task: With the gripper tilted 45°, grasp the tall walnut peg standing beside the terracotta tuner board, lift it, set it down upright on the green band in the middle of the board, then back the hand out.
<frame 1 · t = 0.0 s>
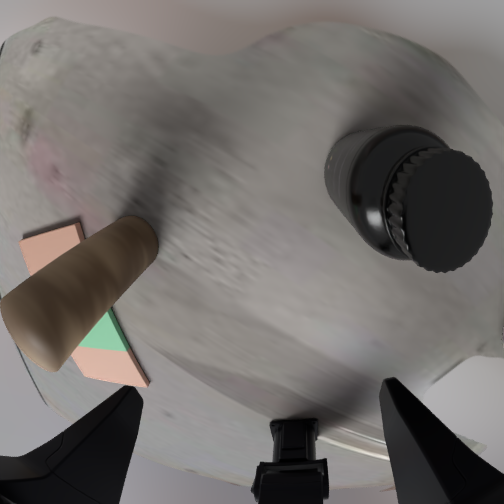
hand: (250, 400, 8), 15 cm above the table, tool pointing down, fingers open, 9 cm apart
tuner board: (79, 315, 28), on the table
supplement bottle: (364, 173, 19), on the table
walnut peg: (134, 242, 23), on the table
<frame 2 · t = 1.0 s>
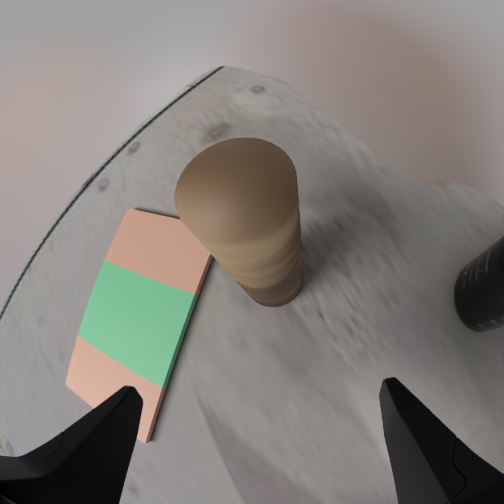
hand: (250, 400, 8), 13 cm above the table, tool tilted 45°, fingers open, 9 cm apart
tuner board: (131, 319, 24), on the table
supplement bottle: (476, 297, 19), on the table
walnut peg: (273, 278, 23), on the table
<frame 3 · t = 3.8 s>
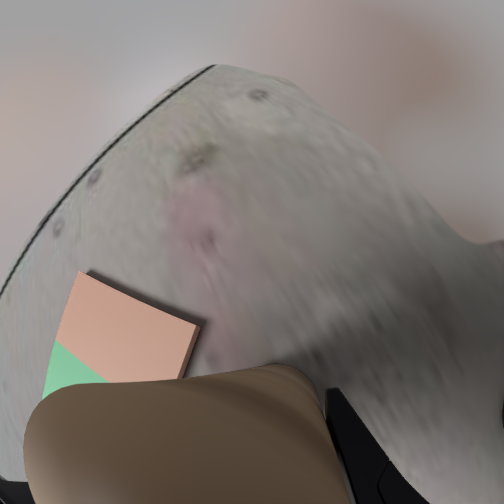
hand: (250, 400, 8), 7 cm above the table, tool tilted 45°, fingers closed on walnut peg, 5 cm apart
tuner board: (92, 421, 15), on the table
walnut peg: (274, 404, 14), on the table, touching gripper
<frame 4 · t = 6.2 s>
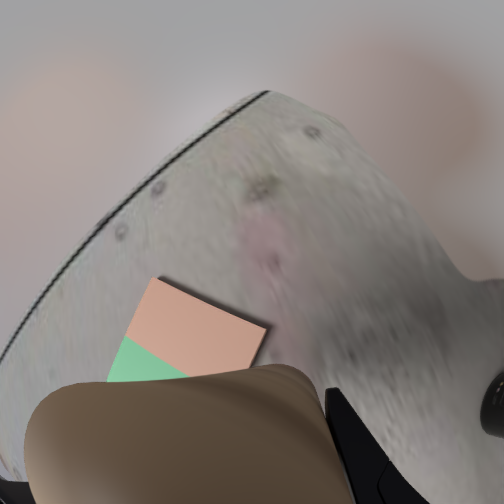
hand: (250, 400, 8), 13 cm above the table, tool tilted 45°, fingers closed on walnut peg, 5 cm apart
tuner board: (158, 406, 21), on the table
supplement bottle: (499, 402, 14), on the table
walnut peg: (275, 403, 14), point 6 cm above the table, touching gripper
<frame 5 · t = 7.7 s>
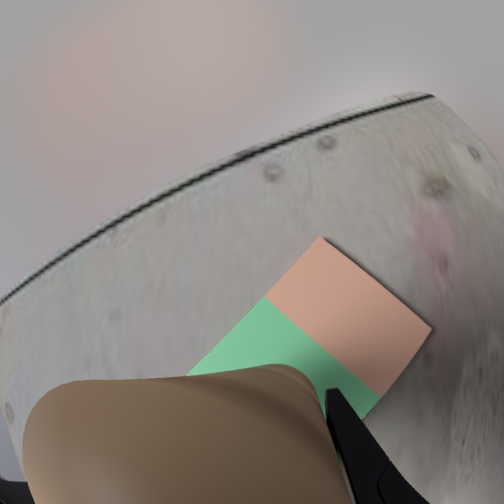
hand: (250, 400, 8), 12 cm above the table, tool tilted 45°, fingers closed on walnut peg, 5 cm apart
tuner board: (281, 392, 18), on the table
walnut peg: (274, 403, 14), point 4 cm above the table, touching gripper
when the fingers open (9 cm above the table, at t = 8.6 s): walnut peg stays where it is, resting on tuner board.
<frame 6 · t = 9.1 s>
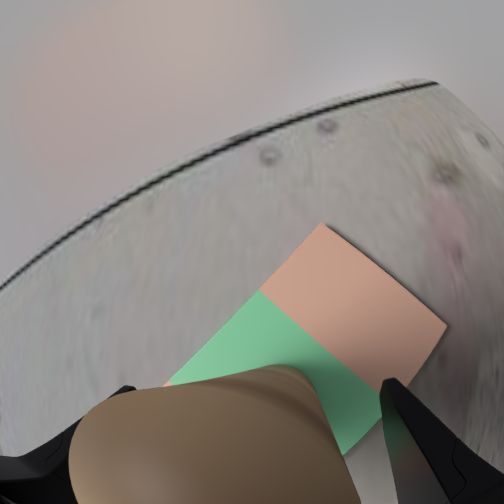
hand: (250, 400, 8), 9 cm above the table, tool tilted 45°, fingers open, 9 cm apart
tuner board: (278, 399, 16), on the table
walnut peg: (276, 401, 15), point 1 cm above the table, touching tuner board
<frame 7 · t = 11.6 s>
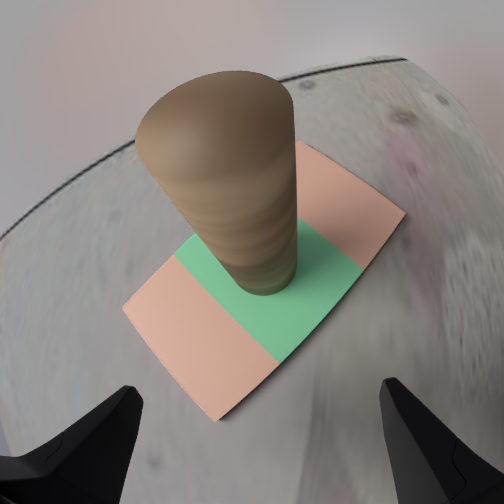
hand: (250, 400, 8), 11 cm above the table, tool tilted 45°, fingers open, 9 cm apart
tuner board: (264, 265, 21), on the table
walnut peg: (263, 262, 20), point 1 cm above the table, touching tuner board
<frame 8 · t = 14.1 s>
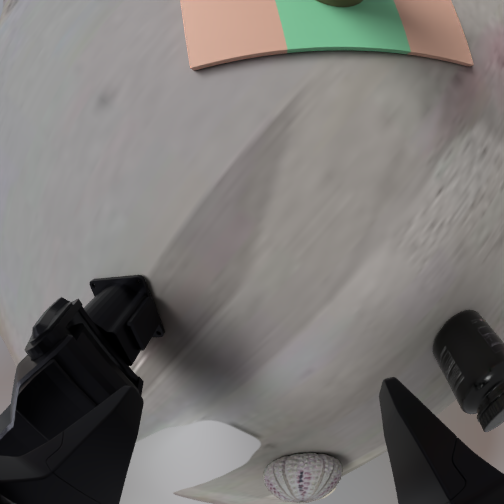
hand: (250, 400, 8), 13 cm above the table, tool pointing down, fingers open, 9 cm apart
supplement bottle: (455, 332, 22), on the table
sea urchin shell: (303, 461, 35), on the table
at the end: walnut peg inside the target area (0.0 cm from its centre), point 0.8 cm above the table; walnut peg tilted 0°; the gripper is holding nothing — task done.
